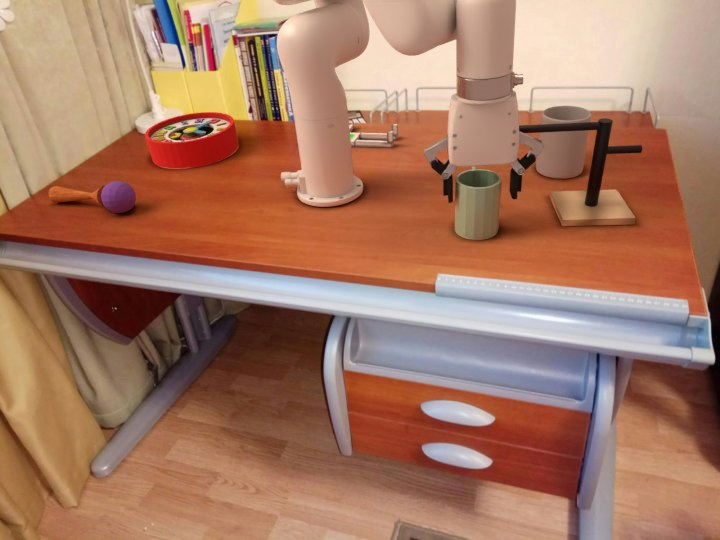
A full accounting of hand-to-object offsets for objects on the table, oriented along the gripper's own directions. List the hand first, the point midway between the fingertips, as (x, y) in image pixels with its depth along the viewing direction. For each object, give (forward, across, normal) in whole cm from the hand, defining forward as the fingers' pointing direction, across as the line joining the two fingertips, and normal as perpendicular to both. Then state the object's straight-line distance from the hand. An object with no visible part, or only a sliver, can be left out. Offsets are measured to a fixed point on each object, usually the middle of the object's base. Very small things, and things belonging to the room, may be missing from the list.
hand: (481, 197), depth 85 cm
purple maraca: (+4, +73, -13) cm, 74 cm away
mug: (+6, -17, -24) cm, 30 cm away
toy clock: (+4, +62, -40) cm, 73 cm away
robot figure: (+5, +26, -41) cm, 49 cm away
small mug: (+6, +1, -3) cm, 6 cm away
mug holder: (+6, -15, -6) cm, 17 cm away
